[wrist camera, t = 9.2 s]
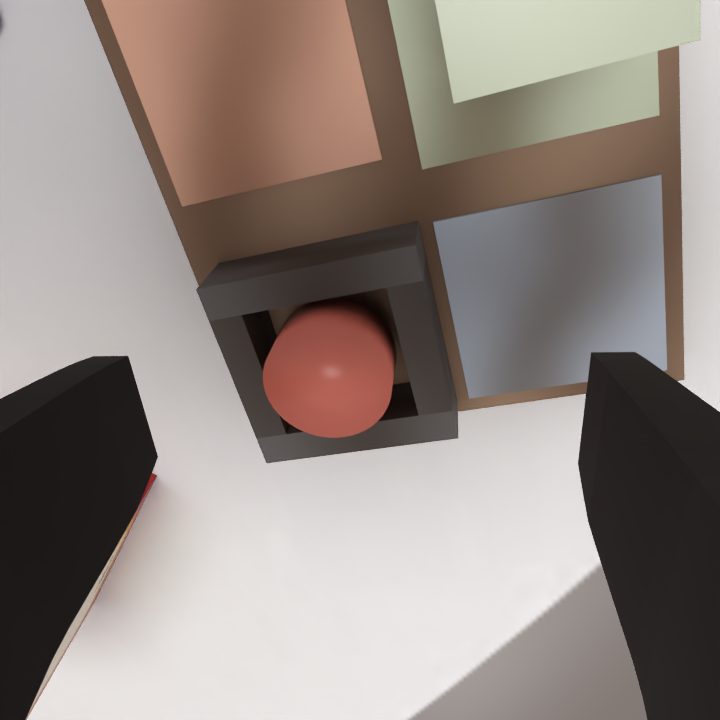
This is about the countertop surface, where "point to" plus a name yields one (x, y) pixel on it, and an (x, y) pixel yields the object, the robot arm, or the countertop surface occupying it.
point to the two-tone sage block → (552, 38)
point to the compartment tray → (406, 200)
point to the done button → (331, 368)
